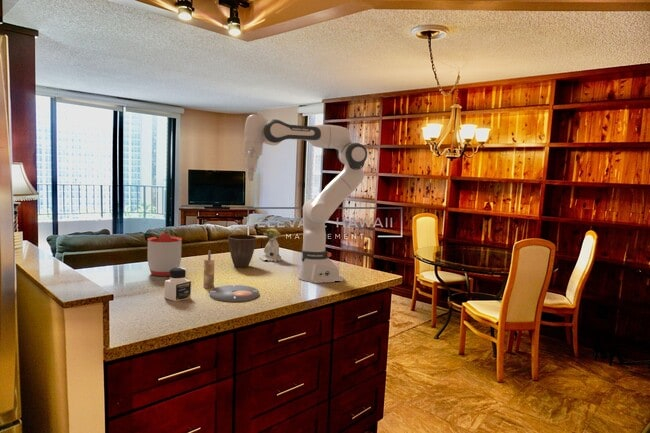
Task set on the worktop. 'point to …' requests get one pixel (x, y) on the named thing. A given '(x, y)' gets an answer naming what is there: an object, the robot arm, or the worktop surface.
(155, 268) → the citrus juicer
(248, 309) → the worktop surface
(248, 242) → the plant pot
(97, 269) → the worktop surface
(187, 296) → the medicine bottle
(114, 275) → the worktop surface
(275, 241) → the green headed figurine
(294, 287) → the worktop surface
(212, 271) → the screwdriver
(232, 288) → the dial plate
